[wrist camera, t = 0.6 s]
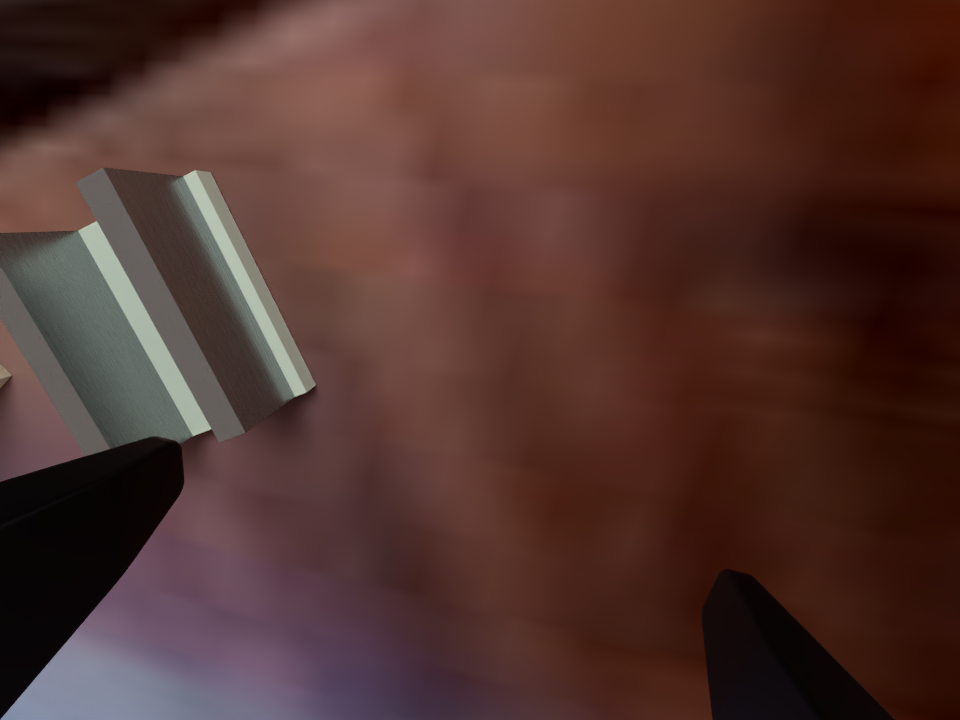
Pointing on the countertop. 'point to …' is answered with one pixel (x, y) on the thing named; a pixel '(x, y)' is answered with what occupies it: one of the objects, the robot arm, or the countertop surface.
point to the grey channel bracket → (149, 315)
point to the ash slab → (3, 376)
